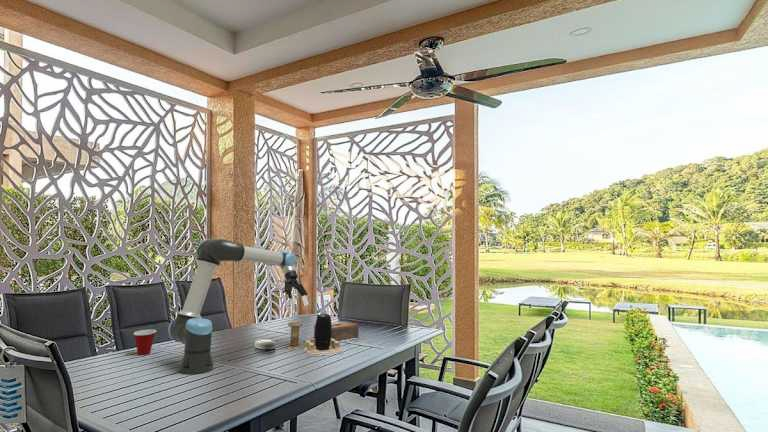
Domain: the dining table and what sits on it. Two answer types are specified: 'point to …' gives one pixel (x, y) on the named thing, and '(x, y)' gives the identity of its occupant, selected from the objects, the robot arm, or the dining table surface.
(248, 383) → the dining table surface
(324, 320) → the portable speaker
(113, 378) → the dining table surface
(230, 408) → the dining table surface
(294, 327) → the bobbin
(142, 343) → the plastic cup
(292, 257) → the robot arm
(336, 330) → the tissue box cover
